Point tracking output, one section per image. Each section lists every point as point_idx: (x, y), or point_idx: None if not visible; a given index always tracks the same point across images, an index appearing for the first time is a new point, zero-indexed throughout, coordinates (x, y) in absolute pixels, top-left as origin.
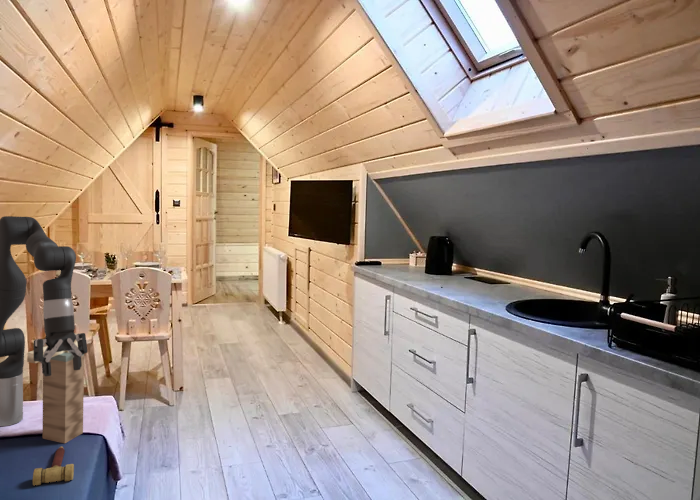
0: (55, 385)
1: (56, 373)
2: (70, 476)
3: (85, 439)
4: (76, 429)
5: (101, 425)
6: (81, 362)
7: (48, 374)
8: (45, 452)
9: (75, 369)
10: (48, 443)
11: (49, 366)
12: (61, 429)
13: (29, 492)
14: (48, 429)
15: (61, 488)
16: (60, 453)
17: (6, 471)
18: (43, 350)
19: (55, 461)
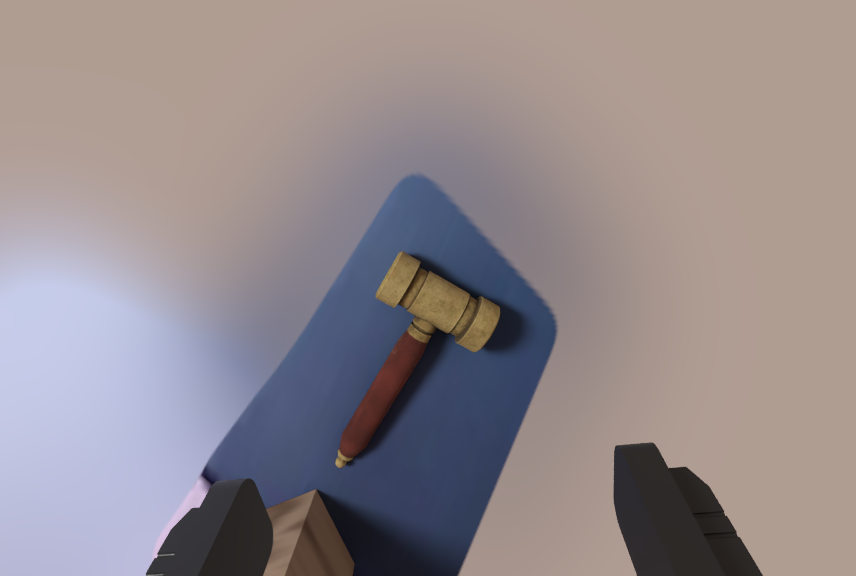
0: None
1: None
2: (405, 253)
3: (254, 471)
4: None
5: (171, 527)
6: (148, 569)
7: (656, 458)
8: (384, 475)
9: (262, 519)
10: (354, 522)
11: (690, 550)
12: (311, 533)
13: (514, 283)
14: (338, 572)
15: (440, 236)
16: (368, 409)
17: (511, 442)
18: None
19: (406, 364)
